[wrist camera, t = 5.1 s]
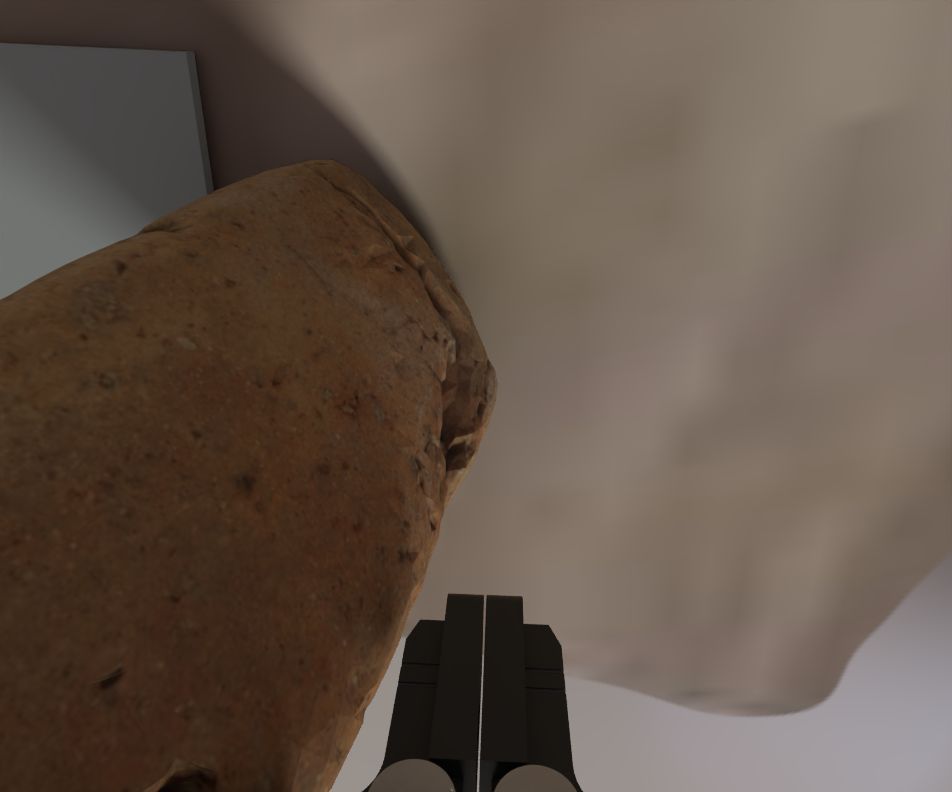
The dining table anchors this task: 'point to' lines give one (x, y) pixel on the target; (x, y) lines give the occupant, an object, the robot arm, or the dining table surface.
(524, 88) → the dining table surface
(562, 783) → the robot arm
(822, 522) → the dining table surface
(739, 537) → the dining table surface
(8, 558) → the brown rounded piece
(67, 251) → the mat
